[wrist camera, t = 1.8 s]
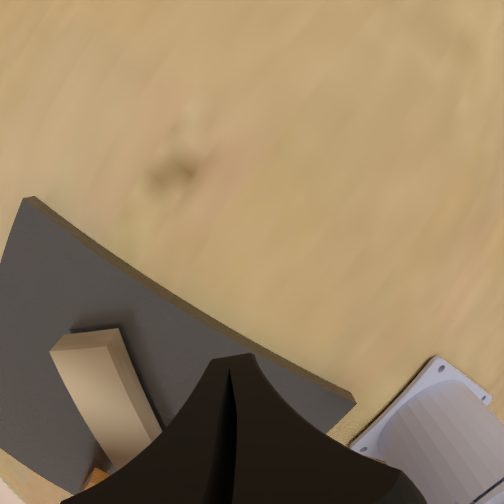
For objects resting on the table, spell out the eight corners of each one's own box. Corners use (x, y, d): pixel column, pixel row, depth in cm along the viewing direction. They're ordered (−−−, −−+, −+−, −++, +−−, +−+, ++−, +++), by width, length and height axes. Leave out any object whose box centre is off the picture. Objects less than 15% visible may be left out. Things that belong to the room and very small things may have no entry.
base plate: (350, 392, 16) (387, 463, 11) (182, 529, 19) (178, 578, 14) (34, 195, 12) (-45, 212, 7) (-19, 421, 15) (-49, 462, 10)
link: (211, 509, 16) (210, 527, 15) (162, 510, 16) (159, 526, 15) (124, 327, 13) (113, 345, 11) (59, 335, 13) (44, 351, 11)
